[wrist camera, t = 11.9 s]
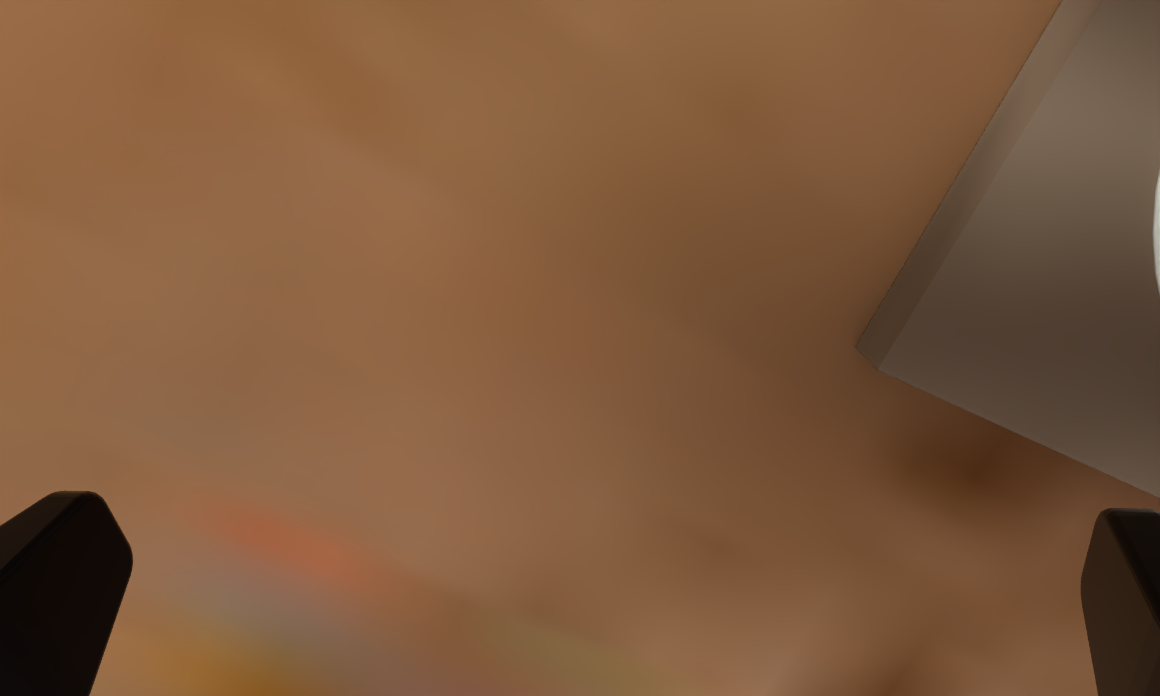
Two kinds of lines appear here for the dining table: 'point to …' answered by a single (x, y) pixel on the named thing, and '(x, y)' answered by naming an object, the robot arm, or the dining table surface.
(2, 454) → the dining table surface
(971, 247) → the grey flat square slab
